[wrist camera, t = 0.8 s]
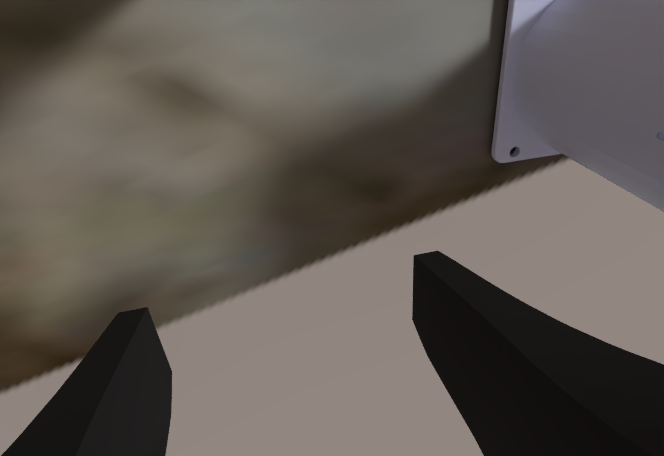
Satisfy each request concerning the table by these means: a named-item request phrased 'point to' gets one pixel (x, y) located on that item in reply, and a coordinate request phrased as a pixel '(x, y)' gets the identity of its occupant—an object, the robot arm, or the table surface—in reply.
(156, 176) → the table surface
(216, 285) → the table surface
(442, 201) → the table surface
